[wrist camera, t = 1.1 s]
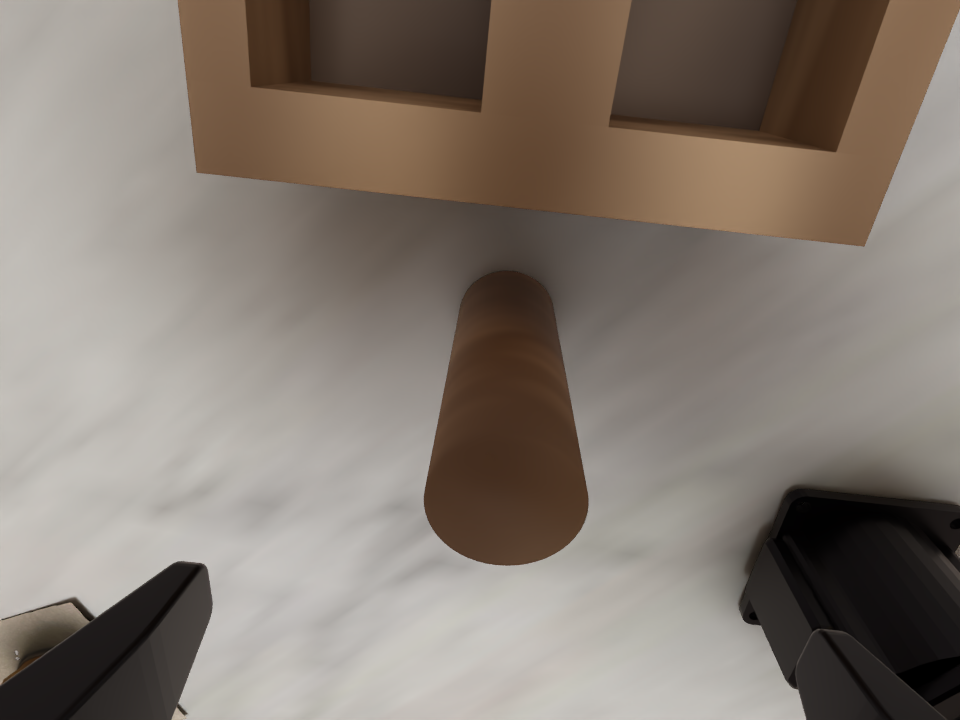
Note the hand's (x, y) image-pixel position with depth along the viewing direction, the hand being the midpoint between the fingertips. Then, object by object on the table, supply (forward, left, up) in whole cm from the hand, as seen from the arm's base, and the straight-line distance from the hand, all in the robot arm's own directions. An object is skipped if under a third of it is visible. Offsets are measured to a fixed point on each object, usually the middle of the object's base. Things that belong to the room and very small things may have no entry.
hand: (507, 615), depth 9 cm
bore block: (0, -9, -11) cm, 14 cm away
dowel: (0, 0, -11) cm, 11 cm away
